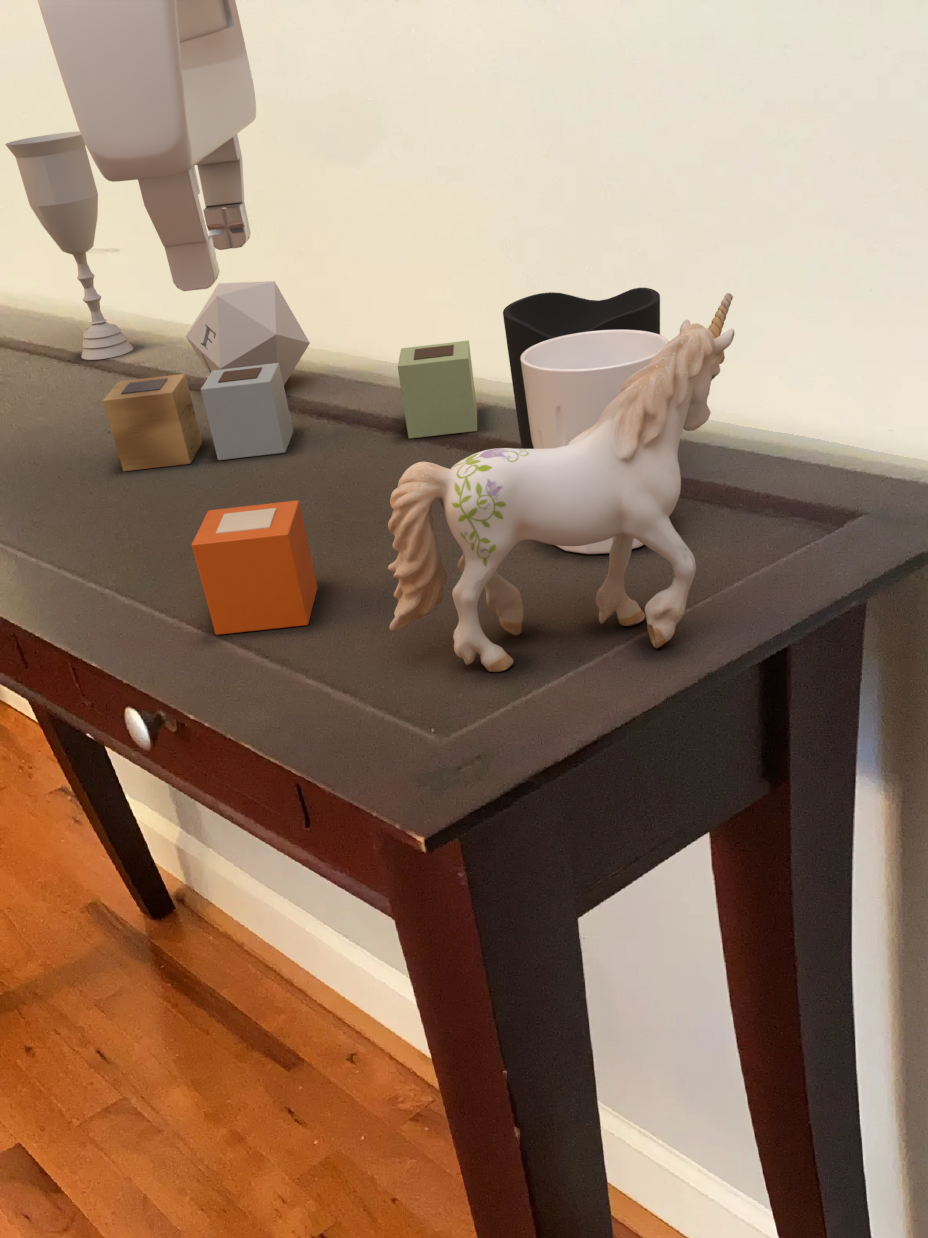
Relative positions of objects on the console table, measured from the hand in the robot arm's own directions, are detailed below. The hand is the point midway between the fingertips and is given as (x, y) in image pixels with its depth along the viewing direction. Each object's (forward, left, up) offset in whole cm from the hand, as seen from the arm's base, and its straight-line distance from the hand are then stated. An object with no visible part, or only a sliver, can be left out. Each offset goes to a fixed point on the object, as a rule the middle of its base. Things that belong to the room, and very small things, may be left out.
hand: (216, 265), depth 59 cm
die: (-8, +47, -17) cm, 51 cm away
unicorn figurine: (+15, -5, -17) cm, 24 cm away
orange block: (-1, 0, -17) cm, 17 cm away
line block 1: (-13, +31, -17) cm, 38 cm away
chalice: (-26, +68, -17) cm, 75 cm away
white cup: (+18, +6, -17) cm, 25 cm away
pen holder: (+18, +17, -17) cm, 30 cm away
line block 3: (+8, +31, -17) cm, 36 cm away
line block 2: (-6, +31, -17) cm, 36 cm away
